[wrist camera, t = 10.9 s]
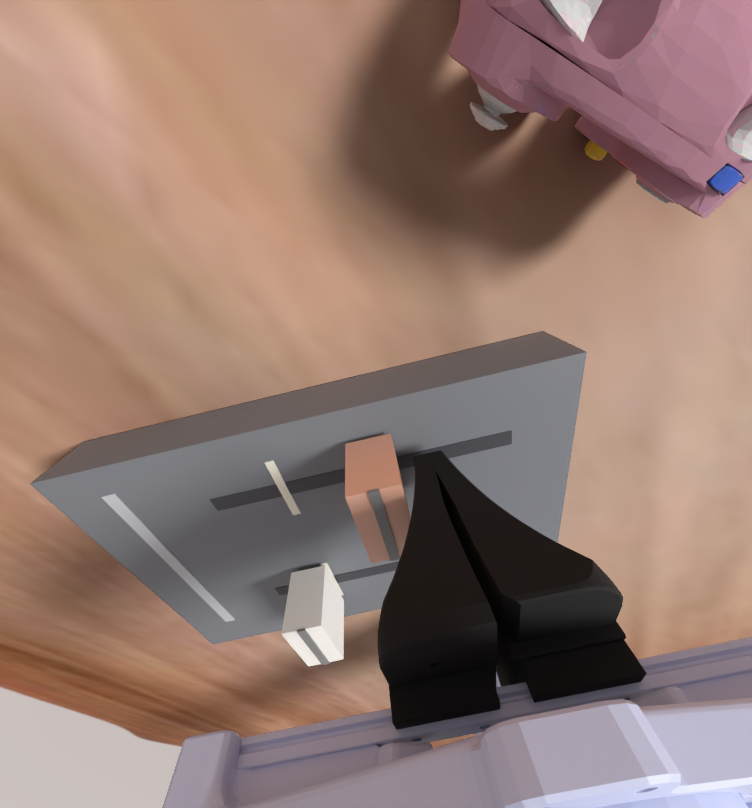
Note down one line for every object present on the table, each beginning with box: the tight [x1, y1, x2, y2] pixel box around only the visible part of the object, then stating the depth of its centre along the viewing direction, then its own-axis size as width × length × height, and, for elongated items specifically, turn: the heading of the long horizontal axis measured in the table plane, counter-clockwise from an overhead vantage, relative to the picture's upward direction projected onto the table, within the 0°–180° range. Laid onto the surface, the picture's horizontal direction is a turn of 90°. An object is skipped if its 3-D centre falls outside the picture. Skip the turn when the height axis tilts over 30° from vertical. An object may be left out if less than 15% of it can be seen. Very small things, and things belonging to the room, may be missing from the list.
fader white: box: [281, 566, 344, 667], centre depth 17 cm, size 4×2×3 cm, turn 13°
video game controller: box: [448, 0, 752, 218], centre depth 8 cm, size 10×5×7 cm, turn 70°
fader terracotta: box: [345, 433, 411, 563], centre depth 12 cm, size 4×2×3 cm, turn 12°
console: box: [30, 331, 586, 644], centre depth 18 cm, size 16×24×3 cm, turn 103°
